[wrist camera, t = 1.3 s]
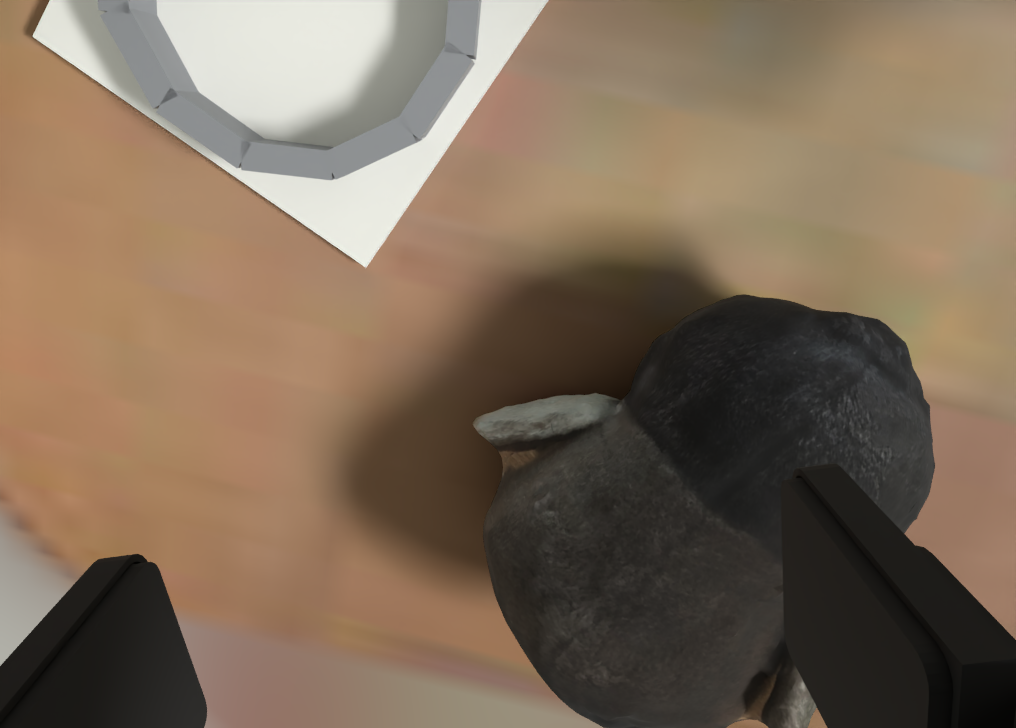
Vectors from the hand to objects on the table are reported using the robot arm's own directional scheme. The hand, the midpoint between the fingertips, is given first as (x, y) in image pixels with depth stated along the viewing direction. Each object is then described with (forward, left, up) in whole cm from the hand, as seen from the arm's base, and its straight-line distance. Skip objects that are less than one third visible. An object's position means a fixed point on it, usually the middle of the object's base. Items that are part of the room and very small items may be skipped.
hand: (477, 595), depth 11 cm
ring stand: (-5, -13, -26) cm, 30 cm away
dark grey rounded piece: (+3, +14, -26) cm, 30 cm away
